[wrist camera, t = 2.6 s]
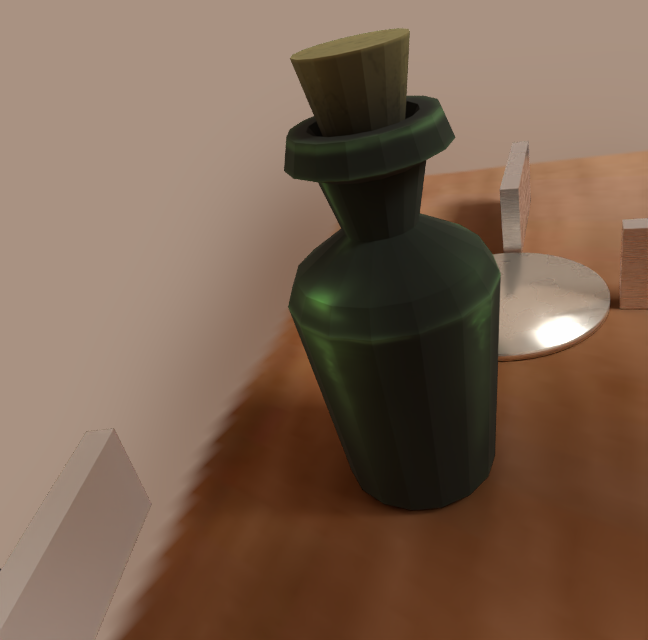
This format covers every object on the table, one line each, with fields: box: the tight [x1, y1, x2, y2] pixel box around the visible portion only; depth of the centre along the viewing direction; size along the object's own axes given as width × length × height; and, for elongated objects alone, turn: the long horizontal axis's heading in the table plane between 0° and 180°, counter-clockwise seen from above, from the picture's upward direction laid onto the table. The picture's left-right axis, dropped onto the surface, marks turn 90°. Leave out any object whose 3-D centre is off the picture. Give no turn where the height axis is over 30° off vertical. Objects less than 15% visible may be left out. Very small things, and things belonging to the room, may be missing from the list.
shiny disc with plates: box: [493, 141, 648, 361], centre depth 37 cm, size 19×24×5 cm
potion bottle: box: [284, 28, 501, 510], centre depth 23 cm, size 8×8×18 cm
